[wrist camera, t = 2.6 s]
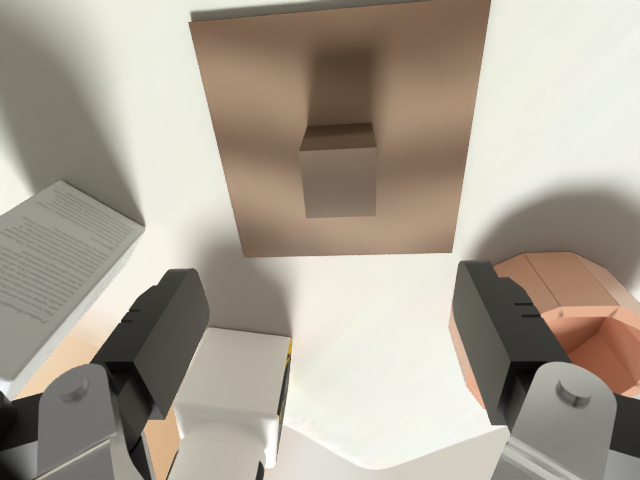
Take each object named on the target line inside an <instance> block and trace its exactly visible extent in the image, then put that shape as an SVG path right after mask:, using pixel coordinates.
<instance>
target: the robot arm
mask: <svg viewBox="0 0 640 480" xmlns="http://www.w3.org/2000/svg"><path fill="white" fill-rule="evenodd" d="M453 316H454V320H455V324H456V326H457V329H458V332H459V335H460V338H461V340H462V343H463V346H464V349H465V352H466V355H467V357H468V360H469V363H470V366H471V369H472V371H473V374H474V377H475V380H476V383H477V386H478V388H479V391H480V394H481V397H482V400H483V402H484V405H485V408H486V411H487V414H488V417H489V419H490V422H491V425H507V426H508V429H509V431H510V434H511V435H510V437H509V439H508V442H507V443H506V445H505V447H504V449H503V452H502V454H501V456H500V459H499V461H498V464H497V466H496V469H495V471H494V474H493V476H492V478H491V480H640V400H638V399H634V398H631V397H627V396H623V395H620V394H616V393H614V392H612V391H611V390H610V388H609V387H608V386H607V385H606V384H605V383H604V382H603V381H602V380H601V379H600V378H599V377H597V376H596V375H595V374H593V373H591V372H590V371H588V370H586V369H584V368H582V367H579V366H577V365H574V364H573V363H572V361H571V360H570V358H569V357H568V355H567V354H566V352H565V351H564V349H563V348H562V346H561V345H560V343H559V341H558V340H557V338H556V337H555V335H554V334H553V332H552V331H551V329H550V328H549V326H548V325H547V323H546V322H545V320H544V318H541V314H540V312H539V311H538V309H537V308H536V306H534V305H533V302H532V300H531V298H530V297H529V295H528V294H527V292H526V291H525V289H524V288H522V287H521V286H520V285H518V284H517V283H516V282H515V281H513V280H512V279H511V278H509V277H498V275H497V273H496V272H495V270H494V268H493V266H492V265H491V263H490V262H489V261H488V260H478V261H460V262H459V265H458V270H457V276H456V283H455V289H454V296H453ZM208 320H209V305H208V302H207V299H206V296H205V293H204V290H203V287H202V284H201V281H200V278H199V275H198V272H197V271H196V270H195V269H193V268H191V269H170V270H168V271H167V272H166V273H165V275H164V276H163V278H162V279H161V280H160V282H159V283H158V285H157V286H152V287H150V288H149V289H148V290H147V291H145V292H144V293H143V294H141V295H140V296H139V297H138V298H137V299H136V301H135V302H134V304H133V305H132V306H131V308H130V309H129V312H127V313H126V314H125V316H124V317H123V318H122V320H121V323H119V324H118V325H117V327H116V328H115V329H114V331H113V332H112V333H111V335H110V336H109V337H108V339H107V340H106V342H105V343H104V344H103V346H102V347H101V348H100V350H99V351H98V353H97V354H96V355H95V356H94V358H93V359H92V361H91V362H90V363H89V364H84V365H81V366H77V367H75V368H72V369H70V370H69V371H67V372H65V373H63V374H62V375H60V376H59V377H58V378H56V379H55V380H54V381H53V382H52V383H51V384H50V385H49V386H48V387H47V388H46V390H45V391H44V392H43V393H40V394H36V395H32V396H28V397H25V398H21V399H17V400H14V401H10V400H9V399H8V398H7V397H6V396H5V395H4V394H3V392H2V391H0V480H156V477H155V473H154V468H153V465H152V460H151V456H150V452H149V448H148V444H147V440H146V436H145V433H144V432H143V429H144V427H145V425H146V423H147V421H148V420H165V418H166V416H167V414H168V411H169V409H170V407H171V405H172V402H173V400H174V398H175V396H176V393H177V391H178V389H179V387H180V385H181V382H182V380H183V378H184V376H185V373H186V371H187V369H188V367H189V364H190V362H191V360H192V358H193V355H194V353H195V351H196V349H197V347H198V344H199V342H200V340H201V338H202V335H203V333H204V331H205V329H206V326H207V324H208Z"/></svg>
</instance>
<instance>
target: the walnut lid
mask: <svg viewBox="0 0 640 480" xmlns="http://www.w3.org/2000/svg"><path fill="white" fill-rule="evenodd" d="M490 5H491V0H430V1H419V2H407V3H396V4H385V5H374V6H363V7H352V8H341V9H329V10H318V11H307V12H296V13H285V14H274V15H262V16H251V17H240V18H229V19H218V20H207V21H196V22H188V23H189V27H190V31H191V35H192V40H193V44H194V48H195V52H196V57H197V61H198V65H199V69H200V73H201V78H202V82H203V86H204V90H205V94H206V99H207V103H208V107H209V111H210V115H211V120H212V124H213V128H214V132H215V136H216V141H217V145H218V149H219V153H220V157H221V162H222V166H223V170H224V174H225V178H226V183H227V187H228V191H229V195H230V200H231V204H232V208H233V212H234V216H235V221H236V225H237V229H238V233H239V237H240V242H241V246H242V250H243V254H244V257H289V256H333V255H378V254H422V253H452V249H453V242H454V236H455V229H456V223H457V217H458V210H459V204H460V197H461V191H462V185H463V178H464V172H465V165H466V159H467V152H468V146H469V140H470V133H471V127H472V120H473V114H474V108H475V101H476V95H477V88H478V82H479V75H480V69H481V63H482V56H483V50H484V43H485V37H486V31H487V24H488V18H489V11H490Z"/></svg>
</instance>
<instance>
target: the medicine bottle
mask: <svg viewBox="0 0 640 480" xmlns="http://www.w3.org/2000/svg"><path fill="white" fill-rule="evenodd" d="M291 350H292V339H291V338H290V337H284V336H276V335H268V334H261V333H253V332H245V331H237V330H229V329H221V328H213V327H209V328H207V330H206V332H205V334H204V336H203V338H202V341H201V343H200V345H199V347H198V350H197V352H196V354H195V356H194V359H193V361H192V363H191V365H190V368H189V370H188V372H187V374H186V377H185V379H184V381H183V383H182V386H181V388H180V390H179V392H178V395H177V397H176V399H175V402H174V405H173V408H174V412H175V417H176V421H177V426H178V430H179V435H180V440H181V442H180V444H179V447H178V449H177V452H176V454H175V457H174V460H173V462H172V465H171V467H170V470H169V473H168V475H167V478H166V480H263V476H264V470H265V468H273V467H274V466H275V464H276V460H277V454H278V447H279V441H280V435H281V429H282V423H283V417H284V410H285V404H286V398H287V392H288V383H289V372H290V361H291Z"/></svg>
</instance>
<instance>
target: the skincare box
mask: <svg viewBox="0 0 640 480" xmlns="http://www.w3.org/2000/svg"><path fill="white" fill-rule="evenodd" d="M144 231H145V227H143V226H141V225H139V224H138V223H136V222H134V221H132V220H130V219H129V218H127V217H125V216H123V215H121V214H120V213H118V212H116V211H114V210H113V209H111V208H109V207H107V206H106V205H104V204H102V203H100V202H98V201H97V200H95V199H93V198H91V197H90V196H88V195H86V194H84V193H82V192H81V191H79V190H77V189H75V188H74V187H72V186H70V185H68V184H67V183H65V182H63V181H61V180H58V181H57V182H55V183H53V184H51V185H50V186H48V187H47V188H45V189H43V190H42V191H40V192H38V193H37V194H35V195H34V196H32V197H30V198H29V199H27V200H26V201H24V202H22V203H21V204H19V205H18V206H16V207H14V208H13V209H11V210H10V211H8V212H6V213H5V214H3V215H1V216H0V391H2V392H3V394H4V395H5V396H6V397H7V398H8V399H9V400H10V401H13V399H14V398H15V397H16V396H17V395H18V393H19V392H20V391H21V390H22V388H23V387H24V386H25V385H26V384H27V383H28V381H29V380H30V379H31V378H32V377H33V375H34V374H35V373H36V372H37V371H38V369H39V368H40V367H41V366H42V365H43V363H44V362H45V361H46V360H47V359H48V357H49V356H50V355H51V354H52V353H53V351H54V350H55V349H56V348H57V347H58V345H59V344H60V343H61V342H62V341H63V339H64V338H65V337H66V336H67V335H68V333H69V332H70V331H71V330H72V329H73V327H74V326H75V325H76V324H77V323H78V321H79V320H80V319H81V318H82V317H83V315H84V314H85V313H86V312H87V311H88V309H89V308H90V307H91V306H92V305H93V304H94V302H95V301H96V300H97V299H98V298H99V296H100V295H101V294H102V293H103V292H104V290H105V289H106V288H107V287H108V286H109V284H110V283H111V282H112V281H113V280H114V278H115V277H116V276H117V275H118V274H119V273H120V271H121V270H122V269H123V268H124V266H125V265H126V263H127V262H128V260H129V258H130V256H131V255H132V253H133V251H134V249H135V248H136V246H137V244H138V242H139V240H140V239H141V237H142V235H143V233H144Z"/></svg>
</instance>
